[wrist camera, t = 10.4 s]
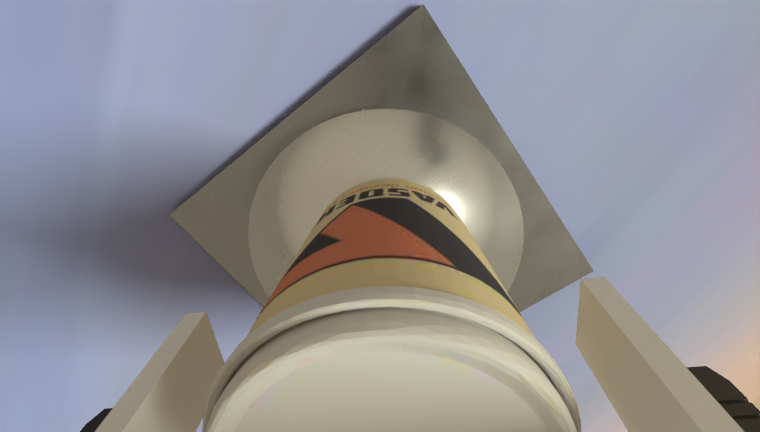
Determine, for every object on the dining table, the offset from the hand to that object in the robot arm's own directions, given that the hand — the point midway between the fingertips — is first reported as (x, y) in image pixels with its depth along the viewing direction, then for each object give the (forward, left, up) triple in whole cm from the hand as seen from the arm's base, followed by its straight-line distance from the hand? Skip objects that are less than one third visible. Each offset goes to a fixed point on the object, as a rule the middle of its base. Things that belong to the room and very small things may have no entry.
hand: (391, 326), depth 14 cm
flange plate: (0, 0, -8) cm, 8 cm away
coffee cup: (0, 0, -7) cm, 7 cm away
